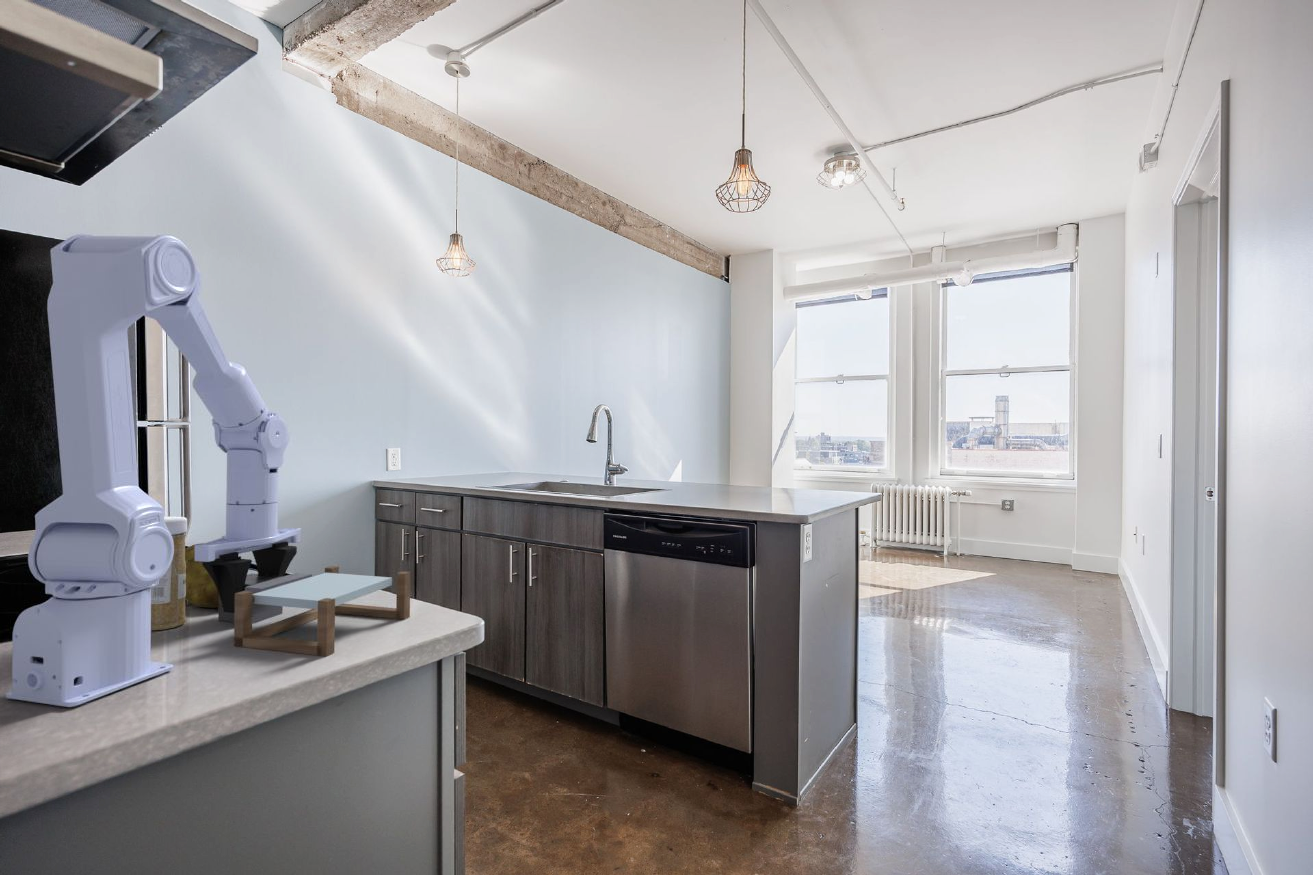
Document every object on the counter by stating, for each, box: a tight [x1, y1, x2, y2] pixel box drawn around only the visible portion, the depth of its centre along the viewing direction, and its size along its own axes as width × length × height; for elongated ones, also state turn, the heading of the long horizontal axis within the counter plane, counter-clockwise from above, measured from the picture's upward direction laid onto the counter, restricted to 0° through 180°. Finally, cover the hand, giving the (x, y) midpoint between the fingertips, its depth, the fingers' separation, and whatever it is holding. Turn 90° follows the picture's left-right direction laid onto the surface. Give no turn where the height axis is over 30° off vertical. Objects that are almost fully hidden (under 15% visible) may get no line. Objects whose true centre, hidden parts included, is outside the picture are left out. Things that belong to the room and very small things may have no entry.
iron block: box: [217, 573, 284, 625], centre depth 83 cm, size 5×5×5 cm
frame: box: [233, 565, 411, 657], centre depth 78 cm, size 15×12×6 cm
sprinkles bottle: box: [151, 515, 188, 632], centre depth 78 cm, size 5×5×14 cm
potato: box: [185, 542, 219, 609], centre depth 89 cm, size 8×13×8 cm, turn 40°
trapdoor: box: [245, 572, 393, 610], centre depth 78 cm, size 12×13×1 cm
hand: (251, 606), depth 83 cm, fingers closed on iron block, 5 cm apart
